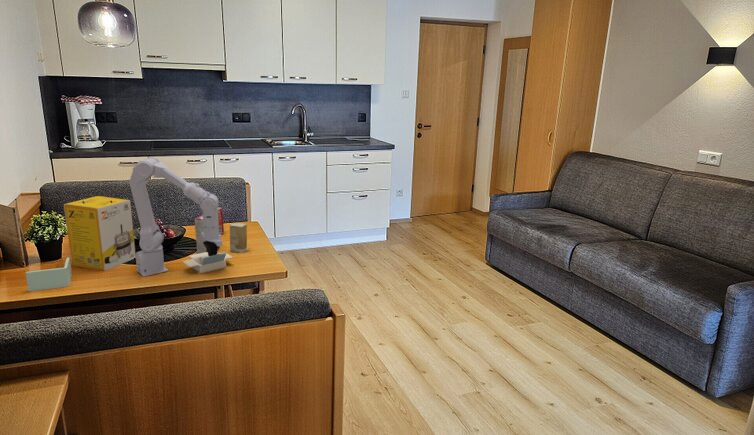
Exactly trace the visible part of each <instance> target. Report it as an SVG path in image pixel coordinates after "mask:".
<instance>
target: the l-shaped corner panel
mask: <svg viewBox="0 0 754 435" xmlns="http://www.w3.org/2000/svg"><path fill="white" fill-rule="evenodd" d="M72 275H73V274H72V264H71V256H70V257H66V260H65V263H64V267H57V268H47V269H38V270H32V271H31V270H30V271H25V277H26V285H27V287H28V288H27V289H28V292H29V293H30V292H36V291H44V290H52V289H59V288H66V287H67V288H68V287H70V286H71V279H72Z"/></svg>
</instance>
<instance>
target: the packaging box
mask: <svg viewBox="0 0 754 435" xmlns="http://www.w3.org/2000/svg"><path fill="white" fill-rule="evenodd" d="M63 210H64V216H65V224H66V230H67V237H68V245H69V252H70V263H71V266H74V267H81V268H85V269H90V270H96V271H102V272H106V271H108V270H110V269H112V268H115V267H118V266H121V265H122V264H123V265H124V264H125V263H127V262H129V261H131V260H134V258H135V259H136V246H135V235H134V226H133V225H134V224H133V214H132V206H131V200H130V199H125V198H119V197H117V198H116V197H109V196H102V195H97V196H92V197H89V198H84V199H80V200H76V201H72V202H71V201H70V202H67V203H64V204H63Z"/></svg>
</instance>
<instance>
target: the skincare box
mask: <svg viewBox="0 0 754 435" xmlns="http://www.w3.org/2000/svg"><path fill="white" fill-rule="evenodd" d="M247 226H248V225H247V224H245V223H241V222H233V223H232V224H229V251H230V252H234V253H241V254H242V253H245V252H246V251H248V244H247V242H248V237H247V236H248V231H247V230H248V229H247V228H248V227H247Z"/></svg>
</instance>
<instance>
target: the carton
mask: <svg viewBox="0 0 754 435" xmlns="http://www.w3.org/2000/svg"><path fill="white" fill-rule="evenodd" d="M222 253H226V256H225V258H224V260H223V261H219V262H215V263H210V264H206V265H202V261H203V258H204V257H208V252H204V253H199V254H197V253H195V254H192V255H191V254H190V255H188V257H189V258H190V259H187V260H183V261H182V263H183V264H185V265H186V266H188V268H191V269H193V270H194V271H196V272H197V273H199V274H200V275H201V274H205V273H209V272H213V271H217V270H221V269H226V268H227V260H229V259H233V258H234V256H232V255H231V254H228V253H227V252H217V254H222Z"/></svg>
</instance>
